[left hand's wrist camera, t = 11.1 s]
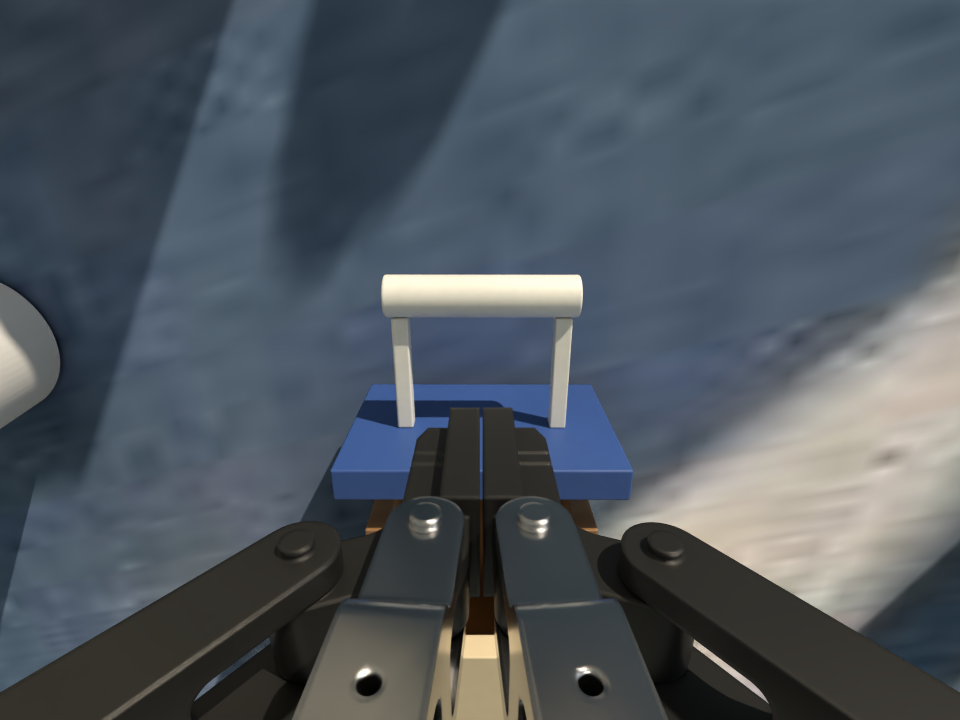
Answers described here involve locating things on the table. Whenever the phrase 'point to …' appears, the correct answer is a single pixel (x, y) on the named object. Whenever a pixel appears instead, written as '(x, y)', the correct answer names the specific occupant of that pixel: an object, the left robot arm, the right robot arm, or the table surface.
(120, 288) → the table surface
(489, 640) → the tan open box
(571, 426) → the drawer
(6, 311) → the coffee cup
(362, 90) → the table surface
